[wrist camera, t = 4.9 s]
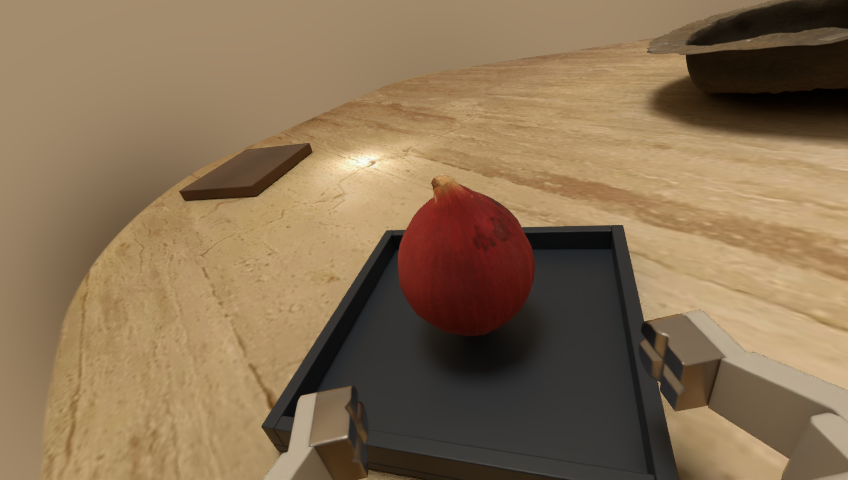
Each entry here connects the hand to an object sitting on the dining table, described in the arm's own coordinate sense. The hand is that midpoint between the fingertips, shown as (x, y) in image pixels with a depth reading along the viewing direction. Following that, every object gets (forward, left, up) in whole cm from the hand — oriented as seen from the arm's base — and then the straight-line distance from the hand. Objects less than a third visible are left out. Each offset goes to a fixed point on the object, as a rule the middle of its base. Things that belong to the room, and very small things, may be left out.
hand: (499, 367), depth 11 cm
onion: (-2, +6, -5) cm, 8 cm away
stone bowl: (+22, +38, -6) cm, 44 cm away
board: (-33, +29, -5) cm, 45 cm away
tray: (-2, +6, -5) cm, 8 cm away
